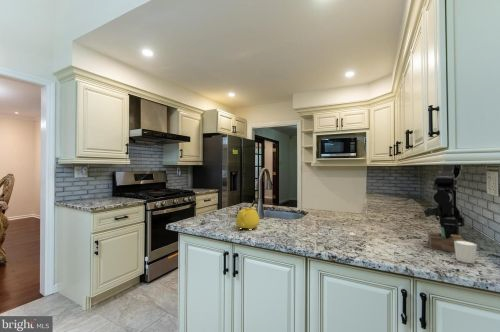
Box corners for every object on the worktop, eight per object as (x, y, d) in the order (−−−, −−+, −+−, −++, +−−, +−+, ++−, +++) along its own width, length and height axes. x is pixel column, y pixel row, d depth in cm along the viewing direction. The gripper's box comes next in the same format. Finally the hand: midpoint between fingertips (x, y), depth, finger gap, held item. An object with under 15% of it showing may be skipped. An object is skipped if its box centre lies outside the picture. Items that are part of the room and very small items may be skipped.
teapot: (231, 230, 143) (231, 209, 143) (244, 223, 161) (244, 204, 161) (253, 233, 138) (253, 210, 138) (264, 225, 156) (264, 205, 156)
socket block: (428, 241, 120) (428, 231, 120) (459, 245, 114) (459, 235, 114) (431, 248, 110) (431, 237, 110) (465, 253, 103) (465, 241, 103)
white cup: (469, 264, 92) (468, 246, 92) (449, 258, 98) (449, 241, 98) (481, 262, 94) (481, 244, 94) (461, 256, 100) (461, 239, 100)
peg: (440, 245, 114) (440, 226, 114) (449, 246, 112) (448, 227, 112) (441, 247, 111) (441, 228, 111) (450, 248, 110) (450, 228, 110)
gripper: (422, 198, 124) (422, 229, 124) (425, 203, 108) (426, 238, 108) (450, 200, 118) (450, 231, 118) (458, 205, 102) (458, 242, 102)
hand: (445, 235), depth 112 cm, fingers open, 9 cm apart
